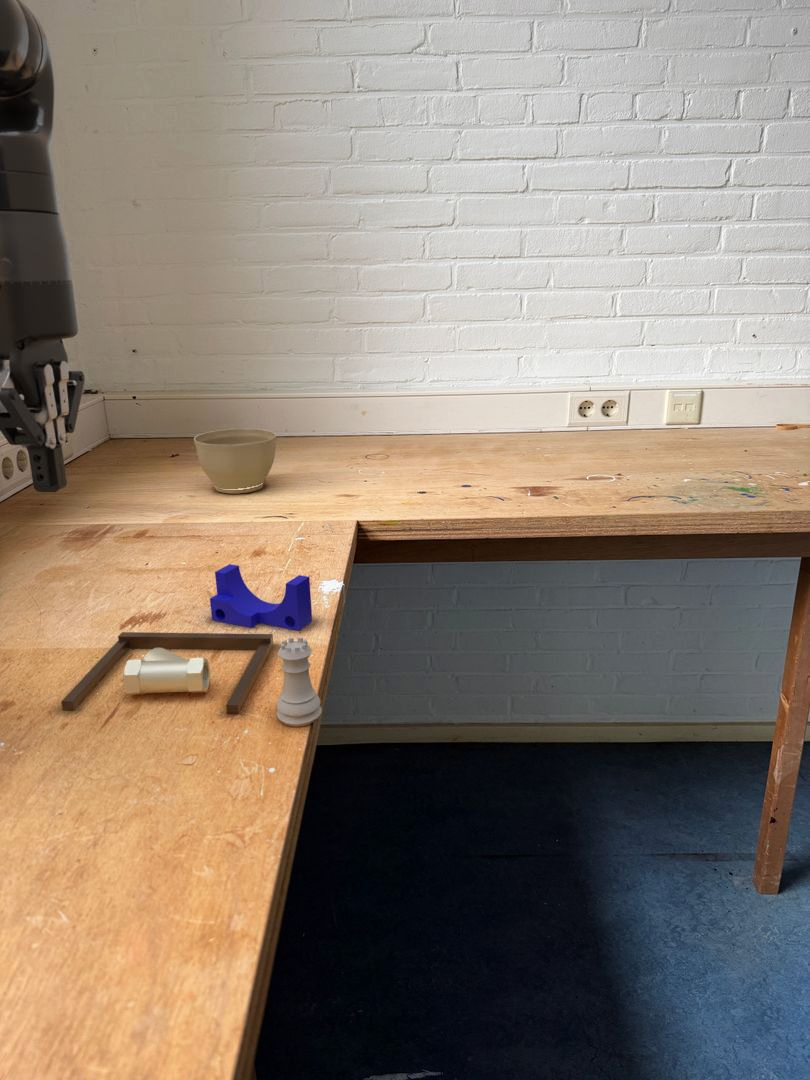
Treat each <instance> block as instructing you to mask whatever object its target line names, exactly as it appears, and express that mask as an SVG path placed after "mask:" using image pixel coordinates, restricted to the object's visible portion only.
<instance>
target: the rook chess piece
mask: <svg viewBox="0 0 810 1080" xmlns="http://www.w3.org/2000/svg"><path fill="white" fill-rule="evenodd" d="M308 643H309V642H308V640H307V639H304V637H301V636H297V640H296V641H295V639H294V637H293V636H291V637H288V641H287V640H286V639H283V640H282V641H281V643H280V648H279V649H278V651H277V656H278V657H279V658H280V659H281V660H282V662H283V663H282V664H281V667H280V668H281V670H282V671H283V686H282V691H281V692H280V695H279V697H278V699H277V703H276V705H275V706H276V708H277V709H276V710H277V711H276V714H275V715H276V717H277V719H278V720H279V721H280V722H281V723H283V724H284V725H286V726H289V727H304V726H308V725H310V724H312V723H315V722H316V721H317V719H319V717H320V716H321V715H322V711H323V708H322V706H321V703H322V701H321V699H320V697H319V695H318V693H316V690H315V689H314V688H313V685H312V681H311V676H310V668H311V663H310V661H309V657H310V656H311V654H312V652H313V649H312V648H311V646H309V644H308Z"/></svg>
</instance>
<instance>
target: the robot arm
mask: <svg viewBox="0 0 810 1080" xmlns="http://www.w3.org/2000/svg"><path fill="white" fill-rule="evenodd" d="M54 119H55V71H54V63H53V57H52V52H51V47H50V44H49V39H48V37H47V34H46V32H45V29H44V27H43V25H42V24H41V22H40V19H38V17H37V16H36V13H34V11H33V10H31V9H30V8H29V7H28V6H27V5H26V4H25V2H24V1H22V0H0V433H1V434H2V436H3V437H4V438H5V439H6V441H7V443H8V444H9V445H11V446H21V447H22V448H23V449H26V450H27V453H28V459H29V466H30V472H31V479H32V485H33V489H34V490H35V491H36V492H38V493H56V492H60V491H61V490H63V489H65V488H66V487H67V485H68V480H67V475H66V466H65V459H64V452H63V445H65V443H66V441H67V434H73V433H74V432H75V428H76V424H77V419H78V415H79V409H80V406H81V405H80V404H81V400H82V395H83V390H84V386H85V381H86V379H85V377H86V376H85V374H84V371H82V370H72V369H71V368H70V366H68V363H69V358H68V357H69V356H68V353H67V350H66V348H65V345H64V341H63V340H66V339H72V338H74V337H75V336H77V335H78V333H79V326H78V317H77V316H78V315H77V309H76V299H75V294H74V286H73V278H72V270H71V261H70V253H69V247H68V242H67V238H66V235H65V231H64V226H63V223H62V216H61V209H60V202H59V194H58V186H57V179H56V170H55V165H54V161H53V155H52V146H53V137H54V123H55V121H54Z"/></svg>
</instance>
